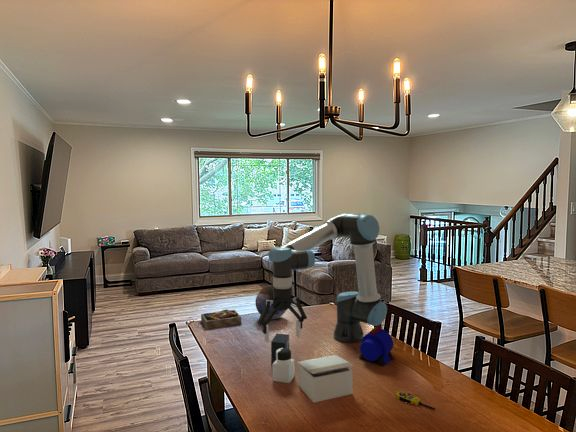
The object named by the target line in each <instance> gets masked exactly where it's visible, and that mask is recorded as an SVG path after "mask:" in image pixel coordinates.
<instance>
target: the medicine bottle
mask: <svg viewBox="0 0 576 432" xmlns="http://www.w3.org/2000/svg"><path fill="white" fill-rule="evenodd" d="M291 350H292V349H291ZM291 350H290V348H289V349H288V348H280V349H278V350H277V351H276V361H275V362H274V363H273V364H272V381H274V382H278V383H284V384H285V383H286V384H289V383H290V382H291V381H292V380H293V378H294V377H295V376H296V374H295V373H296V372H295V371H296V370H295V368H296V367H295V362H296V361H295V359H294V358H292V351H291Z"/></svg>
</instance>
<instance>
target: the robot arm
mask: <svg viewBox="0 0 576 432" xmlns="http://www.w3.org/2000/svg"><path fill="white" fill-rule="evenodd" d="M379 233H380V225H379V221H378V220H377V218H376V217H375V216H374V215H372V214H367V213H350V212H345V213H340V214H338V215H335V216H333V217H331V218H329V219H327V220H325V221H323V223H322V225H320V226H319V227H316V228H315V229H312V230H310V231H309V232H307V233H305V234H303V235H300V236H299V237H297V238H295V239H294V240H291V241H290V242H288V243H286V244H284V245H282V246H274V247H271V248H270V249H269V252H268V259H269V261H270V262H271V263H272V273H273V274H272V285H273V286H274V288H273V300H266V301H265V306H264V309H263V311H262V313H261V315H260V314H259V315H260V316H259V318H258V320H257V323H258V325H259V326H262V330H261V332H262V333H263V334H264V341H265V342H266V343H270V342H269V341H270V340H269V339H270V337H269V335H270V333H269V331H270V329H269V323H270V321H271V319H272V317H273V316H274V315H275V313H276V312H277V311H278V310H279V311H282V310H286V311H287V310H289V311H290V312H291V313H292V314H293V315H294V316H295V318H297V319H296V321H295V334H296V337H297V338H299V339H300V338H301V329H303V322H304V321H305V320H307V319H308V316H307V315H306V313H305V311H304V309H303V306H302V305H301V301H300V298H299V297H298V296H294V297H293V288H292V286H293V271H299V270H304V269H305V270H306V269H309V268H313V266H314V265H315V263H316V256H315V253H314V252H313V251H312V250H313V249H314V248H316V247H319V246H320V245H323V244H324V243H326V242H327V241H330V240H332V241H333V240H335V239H338V238H349V242H350V243H349V244H350V245H352V247H353V249H354V258H355V267H356V279H357V287H358V291H343V292H340V293H338V295H337V296H336V324H335V326H334V327H335V328H334V330H333V338H334V339H335V340H336V341H339V342H344V343H356V342H357V343H358V342H360V341H361V342H362V339H363V337H364V331H363V328H362V325H361V323H364V324H367V325H370V326H375V327H377V326H378V325H381V324H382V323H383V322H384V321H385V319H386V317H387V313H388V306H387V304H386V303H385V302H383V301H382V296H381V294H380V293H378V290H377V289H378V288H377V279H376V269H375V260H374V259H375V258H374V249H373V245H374V244H375V243H376V239H377V238H378V236H379ZM292 303H294V304H295V305H296V308H297V310H298V312H297V311H296V310H295V308H294V307H293V306H292ZM271 304H273V305H274V306H273V307H272V310H271V311H270V312H269V314H268V315H267V313H268V310H269V308H270V306H271ZM266 315H267V316H266ZM265 317H266V318H265Z"/></svg>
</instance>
